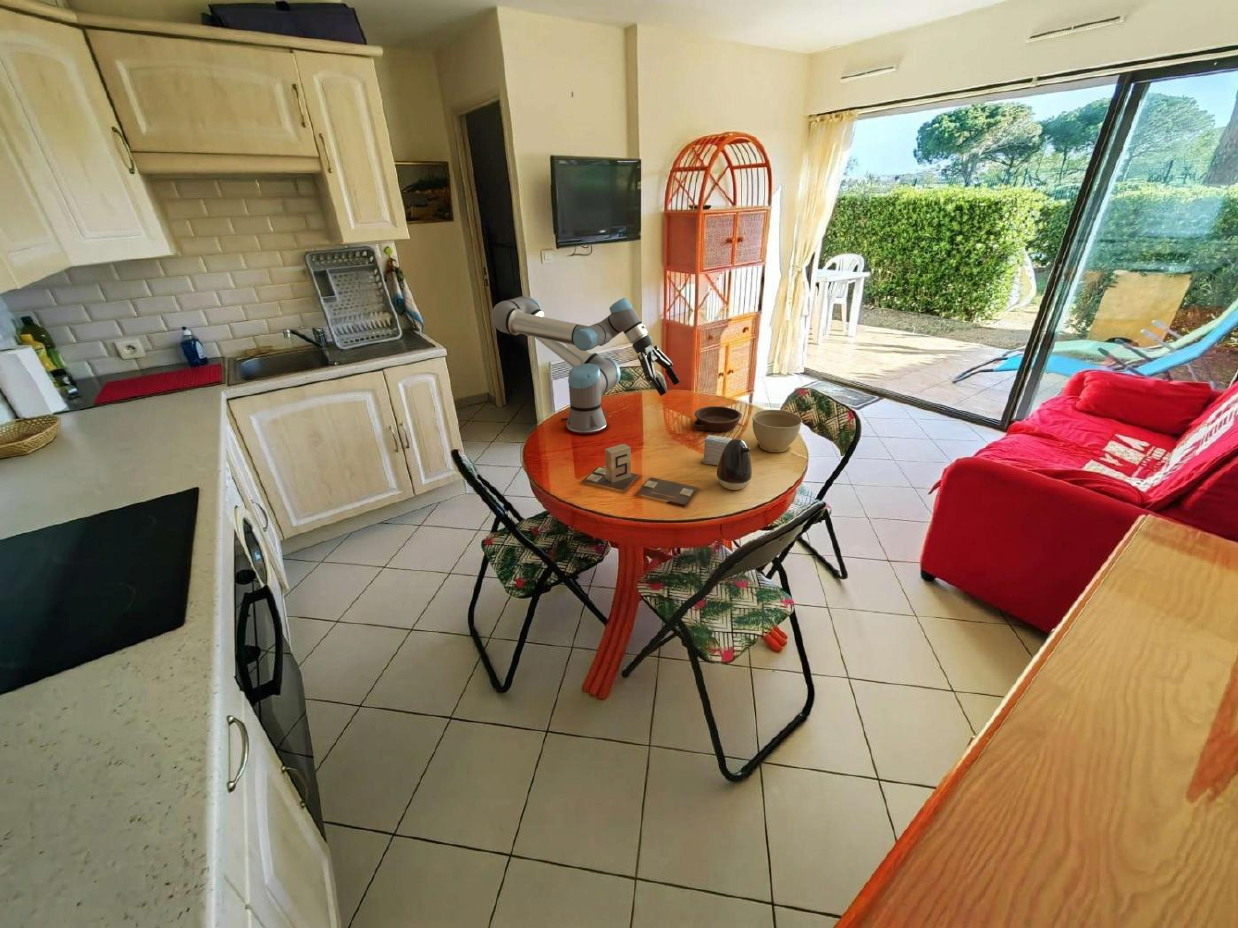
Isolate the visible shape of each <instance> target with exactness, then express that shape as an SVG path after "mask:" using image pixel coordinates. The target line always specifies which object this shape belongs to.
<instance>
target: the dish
mask: <svg viewBox="0 0 1238 928" xmlns="http://www.w3.org/2000/svg"><path fill="white" fill-rule="evenodd" d="M694 417H695V419H696V420H695V421H694V422H693V423H692V428H693V429H694V430H705V431H709V432H715V433H716V432H718V433H719V432H721V433H722V432H728V431H731V430H734V429H736V428H737V426H738V424H739V422H740V420H741V419H742V417H743V414H742V412H740V411H739V410H737V409H734V408H731V407H727V406H721V405H720V406H718V405H711V406H705V407H701V408H698V409H696V410H695V411H694Z"/></svg>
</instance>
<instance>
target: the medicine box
mask: <svg viewBox="0 0 1238 928" xmlns="http://www.w3.org/2000/svg"><path fill="white" fill-rule="evenodd" d="M732 439H733V438H732V437H726V436H720V435H714V434H713V435H712V434H708V435H707V436H706V437H705V439H704V444H703V446H704V447H703V460H702V461H703V464H707V465H712V466H718V463H719V460H720V457H721V454H722V452H723V450H724V448H725V446H726V445H727V444H728V442H729V441H731V440H732Z"/></svg>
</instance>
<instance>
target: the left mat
mask: <svg viewBox="0 0 1238 928" xmlns="http://www.w3.org/2000/svg"><path fill="white" fill-rule="evenodd" d="M639 475H640V474H637V473H632V472H631V477H629V478H626V479H622V480H619V481H616V482H613V483H611V482H610V481H608V480H607V479H606V468H605V467H604V466H598V467H597V468H596V469H595V470H593V471H592V472H591V473H590V474H589V475H588V476H586V478H584V479H583V480H582V482H585V483H589V484H593V485H597V486H600V487H601V486H602V487H607V488H611V489H614V490H619V491H623V492H624V491H625V490H626V489H627V488H628V487H629V486H630V485H631V484H632V483H633V482H634V481H635V480H636V479H637V478H638V477H639Z"/></svg>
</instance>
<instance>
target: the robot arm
mask: <svg viewBox="0 0 1238 928" xmlns="http://www.w3.org/2000/svg"><path fill="white" fill-rule="evenodd" d="M609 312H610V314H609V315H607V316H606V317H605V318H603V320H601V321H599V322H596V323H593V324H591V325H584V324H580V323H576V322H569V321H564V320H561V319H560V320H559V319H555V318H551V317H546V314H545V312H544V311H543V309H542V308H541V304H540V303H539V301H538V300H536V299H535V298H534V297H531V296H527V295H526V296H517V297H515V298H511V299H507V300H502V301H500V302H498V303H497V304H495V305H494V307H493V308H492V311H491V322H492V323H493V326H494V327H495V328H496V329H497V330H498V331H499V332H501V333H504V334H508V335H513V336H518V335H520V334H521V335H525V336H526V337H533V338H535V339H536V340H537V341H539V342H540V343H541V344H542V345H544V346H545V347H546V348H547V349H548V350H550V351H551V352H553V353H554V354H555V355H557V356H558V357H559V358H560V359H562V360H563V361H564V362H566V363H567V364H568V365H569V366H570V367H571V368H570V370H569V372H568V378H567V382H568V392H569V393H568V395H569V408H570V409H569V412H568V416H567V417H562V418H560V421H566V430H567V431H568V432H570V433H572V434H574V435H581V436H590V435H591V436H592V435H596V434H599V433H602V432H603V431H605V430H606V429H607V427H608V426H607V420H606V417H607V416H608V415H607V412H604V411H603V409H602V395H603V394H605V393H607V392H608V391H610V390H612V389H614V388H615V387H616V386H617V385H618V384H619V382H620V380H621V368H620V365H619V363H617V362H616V360H614V359H612V358H610V357H602V355H600V354H599V353H597V352H590V351H591V350H593V349H595V348H596V347H604V345H607V344H608V343H610V342H611V341H612V340H613V339H614V338H616V337H617V336H618V335H620V334H621V333H622V332H623V334H624V335H625V337H626V339H627V340H628V342H629V344H631V347H632V348H633V350H634V351H635V353H636V354H638V355H637V359H638V362H639V363H640V366H641V369H642V373H643V375H644V378H645V380H646V381H647V382H648V383H650V382H651V383H652V385H653V386H654V388H655V390H656V391H657V393H658V394H659V396H660V397H662V396H664V395H666V394H667V393H668V391H667V390H666V387H665V386H664V385H663V383H662V381H661V379H660V378H659V376H656V369H655V365H654V364H655V363H656V364H658V365H659V366H661V367H662V368H663V369H664V370H665V373H666V374H667V376H668V378H669V379H670V381H671V383H672V384H673V386H676V385H678V384H679V383H681V380H680V379H679V377H678V375H677V374H676V372H675V370H674V369H673V366H674V363H673V362H672V360H671V359H670V358H669V357H668V356H667V355H666V354H665V353H664V352H663V351H662V350H661V349H660V348H659V346H658V345H657V344H655V345H654V343H655V341H654V340H653V338H652V336H651V334H648V330H647V329H646V325H645V324H644V323H643V322H642V321H641V319H640V317H639V315H638V313H637V312H636V310H635V309H634V306H632V303H630V301H629V300H628V298H626V297H622V298H620V299H618V300H617V301H615V302H614V303H613V304H611V305H610V307H609ZM653 345H654V346H653Z"/></svg>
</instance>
